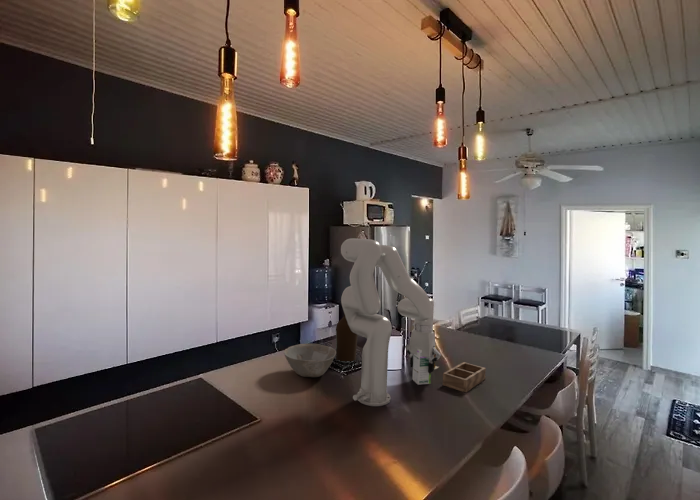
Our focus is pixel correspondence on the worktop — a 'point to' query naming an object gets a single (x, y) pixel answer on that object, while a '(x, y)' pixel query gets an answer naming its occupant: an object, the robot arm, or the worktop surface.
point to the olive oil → (345, 341)
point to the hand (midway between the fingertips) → (421, 368)
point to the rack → (464, 377)
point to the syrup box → (421, 369)
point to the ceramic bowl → (310, 359)
